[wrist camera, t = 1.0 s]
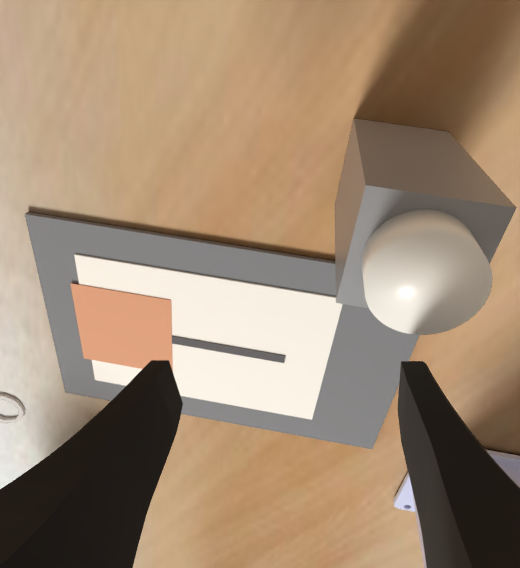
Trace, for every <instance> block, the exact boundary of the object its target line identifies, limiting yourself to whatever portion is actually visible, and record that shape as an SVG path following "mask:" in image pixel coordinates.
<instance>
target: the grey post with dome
mask: <svg viewBox="0 0 520 568" xmlns="http://www.w3.org/2000/svg"><path fill="white" fill-rule="evenodd" d="M515 209H516V207H515V206H514V204H513V203H512V202H511V201H510V200H509V199H508V198H507V197H506V195H505V194H504V193H503V192H502V191H501V190H500V189H499V188H498V186H497V185H496V184H495V183H494V182H493V181H492V180H491V179H490V178H489V176H488V175H487V174H486V173H485V172H484V171H483V170H482V169H481V167H480V166H479V165H478V164H477V163H476V162H475V161H474V160H473V158H472V157H471V156H470V155H469V154H468V153H467V152H466V151H465V149H464V148H463V147H462V146H461V145H460V144H459V143H458V142H457V140H456V139H455V138H454V137H453V136H452V135H451V134H450V133H449V132H448V131H441V130H434V129H427V128H420V127H412V126H405V125H398V124H391V123H384V122H377V121H370V120H362V119H355V118H353V123H352V128H351V132H350V137H349V141H348V146H347V151H346V155H345V160H344V165H343V169H342V174H341V178H340V183H339V188H338V192H337V197H336V201H335V275H336V303H340V304H346V305H352V306H358V307H364V308H369V309H370V311H371V312H372V314H373V315H374V316H375V317H376V318H377V319H378V320H379V321H380V322H381V323H383V324H384V325H386V326H388V327H389V328H392V329H394V330H396V331H399V332H403V333H407V334H414V335H428V334H436V333H441V332H444V331H448V330H450V329H453V328H455V327H457V326H459V325H461V324H463V323H465V322H466V321H468V320H469V319H470V318H472V317H473V316H474V315H475V314H476V313H477V312H478V311H479V310H480V309H481V308H482V306H483V305H484V304H485V302H486V300H487V299H488V296H489V294H490V291H491V287H492V270H491V267H490V262H491V260H492V258H493V256H494V254H495V251H496V249H497V247H498V245H499V243H500V241H501V239H502V237H503V235H504V233H505V230H506V228H507V226H508V224H509V222H510V220H511V218H512V216H513V214H514V212H515Z"/></svg>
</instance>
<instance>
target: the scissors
mask: <svg viewBox="0 0 520 568" xmlns="http://www.w3.org/2000/svg"><path fill="white" fill-rule="evenodd" d="M0 400H5V401H7V402H9V403H11V404H13V405H14V406H15V407H16V408H17V409H18V412H19V415H18V416H17V417H9V418H8V417H3V416H1V415H0V423H7V424H8V423H16V422H19V421H21V419H22V418H23V416H24V415H25V408H24V406H23V405H22V403H21V402H20V401H19V400H18V399H16V398H15V397H12V396H10V395H7V394H1V393H0Z"/></svg>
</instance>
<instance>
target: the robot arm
mask: <svg viewBox="0 0 520 568" xmlns="http://www.w3.org/2000/svg"><path fill="white" fill-rule="evenodd" d="M182 406H183V402H182V399H181V396H180V393H179V390H178V387H177V384H176V381H175V378H174V374H173V371H172V368H171V365H170V362H169V360H151V361H150V362H149V363H148V364H147V365H146V366H145V367H144V368H143V369H142V370H141V371H140V372H139V373H138V374H137V375H136V376H135V377H134V378H133V379H132V380H131V381H130V383H129V384H128V385H127V386H126V387H125V388H124V389H123V390H122V391H121V392H120V393H119V394H118V395H117V396H116V397H115V398H114V399H113V400H112V401H111V402H110V403H109V404H108V405H107V406H106V407H105V408H104V409H103V410H101V411H100V412H99V413H98V414H97V415H96V416H95V417H94V418H93V419H92V420H91V421H89V422H88V423H87V424H86V425H85V426H84V427H83V428H82V429H81V430H80V431H79V432H77V433H76V434H75V435H74V436H73V437H72V438H70V439H69V440H68V441H67V442H66V443H64V444H63V445H62V446H61V447H59V448H58V449H57V450H55V451H54V452H53V453H52V454H50V455H49V456H48V457H46V458H45V459H44V460H42V461H41V462H40V463H38V464H37V465H35V466H34V467H32V468H31V469H30V470H28V471H27V472H25V473H24V474H23V475H21V476H20V477H18V478H17V479H15V480H14V481H12V482H11V483H9V484H8V485H6V486H5V487H3V488H2V489H0V568H132V567H133V563H134V559H135V555H136V551H137V547H138V543H139V540H140V536H141V532H142V529H143V525H144V521H145V518H146V514H147V511H148V508H149V505H150V502H151V499H152V496H153V494H154V491H155V489H156V486H157V483H158V481H159V478H160V475H161V473H162V470H163V467H164V465H165V462H166V460H167V457H168V454H169V452H170V449H171V446H172V443H173V441H174V438H175V435H176V432H177V428H178V424H179V420H180V415H181V411H182ZM398 416H399V425H400V434H401V442H402V447H403V451H404V455H405V460H406V464H407V469H408V473H407V475H406V477H405V479H404V481H403V483H402V485H401V486H400V488H399V490H398V492H397V494H396V496H395V498H394V500H393V502H394V506H395V507H396V508H398V509H402V510H408V511H413V512H415V514H416V520H417V526H418V532H419V539H420V545H421V551H422V557H423V563H424V568H520V456H518V455H513V454H507V453H502V452H496V451H491V450H485V449H484V447H483V446H482V445H481V444H480V442H479V441H478V440H477V439H476V438H475V436H474V435H473V434H472V432H471V431H470V430H469V429H468V427H467V426H466V425H465V423H464V422H463V420H462V419H461V418H460V416H459V415H458V414H457V412H456V411H455V409H454V408H453V407H452V405H451V404H450V402H449V401H448V399H447V398H446V396H445V395H444V393H443V392H442V390H441V389H440V387H439V385H438V384H437V382H436V380H435V379H434V377H433V375H432V374H431V372H430V370H429V368H428V366H427V364H425V363H424V362H423V361H401V368H400V383H399V397H398Z"/></svg>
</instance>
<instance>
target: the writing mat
mask: <svg viewBox="0 0 520 568" xmlns="http://www.w3.org/2000/svg"><path fill="white" fill-rule="evenodd" d="M25 217H26V222H27V226H28V230H29V235H30V239H31V244H32V248H33V252H34V257H35V261H36V266H37V270H38V274H39V279H40V283H41V288H42V292H43V296H44V301H45V305H46V310H47V314H48V318H49V323H50V327H51V332H52V336H53V340H54V345H55V349H56V354H57V358H58V362H59V367H60V371H61V376H62V380H63V384H64V389H65V392H66V393H72V394H77V395H82V396H88V397H93V398H99V399H104V400H109V401H112V400H113V399H114V398H115V397H116V396H117V395H118V394H119V393H120V392H121V391H122V390H123V389H124V388H125V387H126V386H127V385H128V384H129V383H130V381H131V380H132V379H133V378H134V377H135V376H136V375H137V374H138V373H139V372H140V371H141V370H142V369H143V368H144V367H145V366H146V365H147V364H148V363H149V362H150V361H151V360H169V362H170V365H171V368H172V371H173V374H174V378H175V381H176V384H177V387H178V390H179V393H180V396H181V399H182V402H183V406H182V411H181V414H185V415H190V416H196V417H201V418H206V419H212V420H217V421H223V422H228V423H233V424H239V425H244V426H250V427H255V428H260V429H266V430H271V431H277V432H282V433H287V434H293V435H298V436H304V437H309V438H314V439H320V440H325V441H330V442H336V443H341V444H347V445H352V446H357V447H363V448H368V449H372V448H373V446H374V443H375V441H376V439H377V436H378V434H379V431H380V429H381V426H382V424H383V422H384V419H385V417H386V414H387V412H388V409H389V407H390V405H391V402H392V400H393V397H394V395H395V393H396V390H397V388H398V385H399V383H400V368H401V361H409V359H410V356H411V354H412V351H413V349H414V347H415V344H416V342H417V339H418V337H419V335H414V334H407V333H403V332H399V331H396V330H394V329H392V328H389V327H388V326H386V325H384V324H383V323H381V322H380V321H379V320H378V319H377V318H376V317H375V316H374V315H373V314H372V312H371V311H370V309H369V308H364V307H358V306H352V305H346V304H340V303H336V275H335V261H331V260H325V259H319V258H313V257H306V256H300V255H294V254H288V253H282V252H275V251H269V250H263V249H257V248H250V247H244V246H238V245H232V244H225V243H219V242H213V241H207V240H200V239H194V238H188V237H182V236H175V235H169V234H163V233H157V232H151V231H144V230H138V229H132V228H126V227H119V226H113V225H107V224H101V223H94V222H88V221H82V220H76V219H69V218H63V217H57V216H51V215H44V214H38V213H32V212H27V213H26V214H25Z"/></svg>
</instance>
